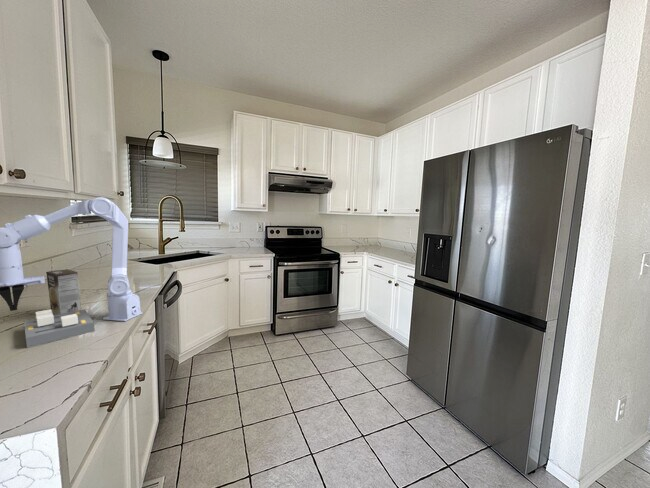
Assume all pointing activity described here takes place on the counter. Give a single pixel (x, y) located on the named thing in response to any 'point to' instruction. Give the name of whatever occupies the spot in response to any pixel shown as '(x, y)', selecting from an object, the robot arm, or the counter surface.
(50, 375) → the counter surface
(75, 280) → the coffee box
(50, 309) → the switch far
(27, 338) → the switch box
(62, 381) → the counter surface
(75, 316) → the switch near
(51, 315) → the switch middle
